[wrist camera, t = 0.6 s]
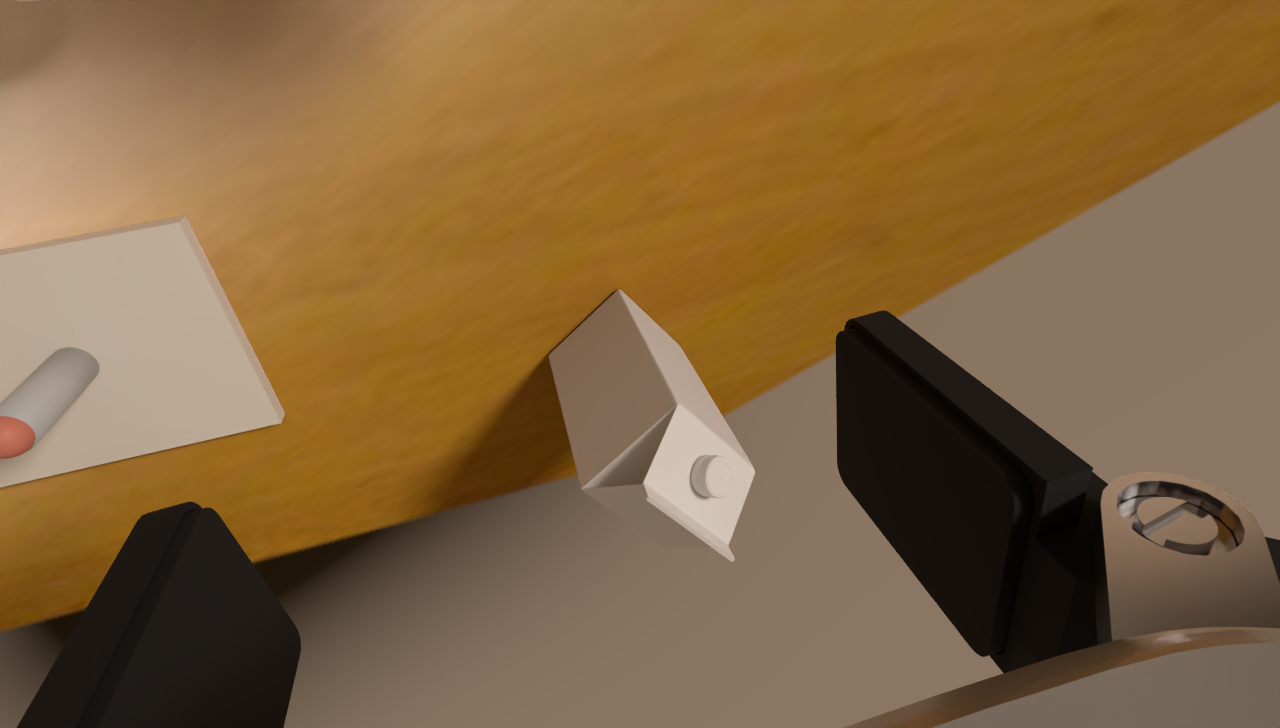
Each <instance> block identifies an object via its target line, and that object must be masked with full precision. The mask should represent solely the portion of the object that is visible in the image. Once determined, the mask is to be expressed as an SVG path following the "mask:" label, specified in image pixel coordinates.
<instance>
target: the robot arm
mask: <svg viewBox="0 0 1280 728" xmlns="http://www.w3.org/2000/svg"><path fill="white" fill-rule="evenodd" d="M836 398H837V464H838V470H839V473H840V476H841V479H842V480H843V483H844V484H845V486H846V487H847V488H848V490H849V491H850V492H851V494H852V495H853V496H854V497H855V499H856V500H857V501H858V502H859V504H860V505H861V506H862V508H863V509H864V510H865V511H866V513H867V514H868V515H869V517H870V518H871V519H872V521H874V523H875V525H876V526H877V527H878V528H879V530H880V531H881V532H882V534H883V535H884V536H885V537H886V539H887V540H888V541H889V542H890V544H891V545H892V546H893V548H894V549H895V550H896V552H897V553H898V554H899V555H900V557H901V558H902V559H903V561H904V562H905V563H906V564H907V566H908V567H909V568H910V570H911V571H912V572H913V573H914V575H915V576H916V577H917V579H918V580H919V581H920V582H921V584H922V585H923V586H924V588H925V589H926V590H927V592H928V593H929V594H930V595H931V597H932V598H933V599H934V601H935V602H936V603H937V604H938V606H939V607H940V608H941V610H942V611H943V612H944V614H945V615H946V616H947V617H948V619H949V620H950V621H951V622H952V624H953V625H954V626H955V627H956V629H957V630H958V632H959V633H960V634H961V635H962V637H963V638H964V639H965V641H966V642H967V643H968V644H969V646H970V647H971V648H972V649H973V650H974V651H975V652H976V653H977V654H979V655H980V656H983V657H985V656H988V655H990V657H991V658H992V659H993V660H994V662H995V663H996V664H997V666H998V667H999V668H1000V669H1001V670H1002V672H1003V673H1004V674H1001V675H998V676H995V677H992V678H989V679H985V680H983V681H979V682H976V683H973V684H971V685H967V686H964V687H961V688H958V689H955V690H952V691H949V692H946V693H943V694H939V695H937V696H934V697H931V698H928V699H925V700H922V701H919V702H916V703H913V704H911V705H907V706H905V707H902V708H899V709H896V710H893V711H890V712H887V713H884V714H882V715H879V716H876V717H873V718H870V719H867V720H864V721H861V722H858V723H856V724H853V725H850V726H847V727H844V728H1280V540H1277V539H1272V538H1267V537H1265V536H1264V533H1263V530H1262V529H1261V527H1260V525H1259V524H1258V522H1257V520H1256V518H1255V517H1254V515H1253V514H1252V513H1251V512H1250V511H1249V510H1248V509H1246V508H1245V507H1244V506H1243V505H1242V504H1241V503H1240V502H1239V501H1238V500H1236V499H1234V498H1233V497H1231V496H1229V495H1228V494H1226V493H1224V492H1223V491H1221V490H1219V489H1218V488H1215V487H1212V486H1210V485H1208V484H1205V483H1203V482H1200V481H1198V480H1195V479H1192V478H1187V477H1183V476H1179V475H1174V474H1170V473H1156V472H1142V473H1134V474H1127V475H1124V476H1122V477H1120V478H1117V479H1115V480H1113V481H1112V482H1110V484H1109V485H1108V484H1107V483H1106V482H1104V481H1103V480H1102V479H1100V478H1099V477H1098V476H1097V475H1095V474H1094V473H1093V472H1092V470H1093V467H1091V466H1090V465H1089V464H1087V463H1086V462H1085V461H1083V460H1082V459H1081V458H1080V457H1078V456H1077V455H1076V454H1074V453H1073V452H1072V451H1070V450H1069V449H1068V448H1066V447H1065V446H1064V445H1063V444H1061V443H1060V442H1058V441H1057V440H1056V439H1054V438H1053V437H1052V436H1051V435H1049V434H1048V433H1047V432H1045V431H1044V430H1043V429H1042V428H1040V427H1039V426H1037V425H1036V424H1035V423H1034V422H1032V421H1031V420H1030V419H1028V418H1027V417H1026V416H1024V415H1023V414H1022V413H1021V412H1019V411H1018V410H1016V409H1015V408H1014V407H1013V406H1011V405H1010V404H1009V403H1007V402H1006V401H1005V400H1003V399H1002V398H1001V397H1000V396H998V395H997V394H996V393H994V392H993V391H992V390H990V389H989V388H987V387H986V386H985V385H984V384H982V383H981V382H980V381H979V380H977V379H976V378H975V377H973V376H972V375H971V374H969V373H968V372H967V371H965V370H964V369H963V368H962V367H960V366H959V365H958V364H956V363H955V362H954V361H952V360H951V359H950V358H948V357H947V356H946V355H944V354H943V353H942V352H941V351H939V350H938V349H936V348H935V347H934V346H933V345H931V344H930V343H929V342H927V341H926V340H925V339H924V338H922V337H921V336H920V335H918V334H917V333H916V332H914V331H913V330H912V329H910V328H909V327H908V326H906V325H905V324H904V323H902V322H901V321H900V320H899V319H897V318H896V317H895V316H893V315H892V314H891V313H889V312H887V311H878V312H875V313H871V314H868V315H864V316H860V317H857V318H853V319H850V320H848V321H847V322H846V325H845V329H844V331H841V332H839V333H838V334H837V337H836ZM300 651H301V642H300V636H299V633H298V630H297V628H296V626H295V624H294V623H293V622H292V620H291V619H290V617H289V616H288V614H287V613H286V611H285V610H284V609H283V607H282V606H281V604H280V603H279V601H278V600H277V599H276V597H275V596H274V594H273V593H272V591H271V590H270V588H269V587H268V585H267V584H266V583H265V581H264V580H263V578H262V577H261V575H260V574H259V572H258V571H257V570H256V568H255V567H254V565H253V564H252V562H251V561H250V559H249V558H248V557H247V555H246V554H245V552H244V551H243V549H242V548H241V546H240V545H239V543H238V542H237V541H236V539H235V538H234V536H233V535H232V533H231V532H230V530H229V529H228V528H227V526H226V525H225V523H224V522H223V520H222V519H221V517H220V516H219V515H218V513H217V512H216V511H215V510H213V509H212V508H203V509H202V507H201V506H200V505H198V504H196V503H194V502H186V503H182V504H179V505H175V506H171V507H168V508H164V509H160V510H157V511H153V512H150V513H147V514H145V515H142V516H141V517H140V519H139V520H138V521H137V523H136V524H135V526H134V528H133V529H132V531H131V533H130V535H129V536H128V538H127V540H126V541H125V543H124V545H123V547H122V548H121V550H120V552H119V553H118V555H117V557H116V559H115V560H114V562H113V564H112V565H111V567H110V569H109V571H108V572H107V574H106V576H105V577H104V579H103V581H102V583H101V584H100V586H99V588H98V589H97V591H96V593H95V595H94V596H93V598H92V600H91V601H90V603H89V605H88V607H87V608H86V610H85V612H84V614H83V615H82V617H81V619H80V620H79V622H78V624H77V626H76V627H75V629H74V631H73V632H72V634H71V636H70V637H69V639H68V641H67V643H66V644H65V646H64V648H63V650H62V651H61V653H60V654H59V656H58V658H57V660H56V661H55V663H54V665H53V666H52V668H51V670H50V672H49V674H48V675H47V677H46V678H45V680H44V682H43V684H42V685H41V687H40V689H39V690H38V692H37V694H36V696H35V697H34V699H33V701H32V702H31V704H30V706H29V708H28V709H27V711H26V713H25V715H24V716H23V718H22V720H21V721H20V723H19V725H18V726H17V728H283V727H284V722H285V719H286V714H287V710H288V705H289V701H290V696H291V692H292V688H293V683H294V679H295V675H296V670H297V665H298V661H299V657H300Z"/></svg>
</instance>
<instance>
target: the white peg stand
mask: <svg viewBox="0 0 1280 728" xmlns="http://www.w3.org/2000/svg"><path fill="white" fill-rule="evenodd" d="M284 414H285V412H284V410H283V408H282V406H281V404H280V402H279V400H278V398H277V396H276V394H275V392H274V390H273V388H272V386H271V384H270V382H269V380H268V378H267V376H266V374H265V372H264V370H263V368H262V366H261V364H260V362H259V360H258V358H257V356H256V354H255V352H254V350H253V348H252V346H251V344H250V342H249V340H248V338H247V336H246V334H245V332H244V330H243V328H242V326H241V324H240V322H239V320H238V318H237V316H236V314H235V312H234V310H233V308H232V306H231V304H230V302H229V300H228V299H227V297H226V295H225V293H224V291H223V289H222V287H221V285H220V283H219V281H218V279H217V277H216V275H215V273H214V271H213V269H212V267H211V265H210V263H209V261H208V259H207V257H206V255H205V253H204V251H203V249H202V247H201V245H200V243H199V241H198V239H197V237H196V235H195V233H194V231H193V229H192V227H191V225H190V223H189V221H188V219H187V217H186V216H181V217H176V218H171V219H165V220H160V221H154V222H149V223H144V224H138V225H133V226H127V227H122V228H117V229H111V230H106V231H100V232H95V233H90V234H84V235H79V236H73V237H68V238H62V239H57V240H52V241H46V242H41V243H35V244H30V245H25V246H19V247H14V248H8V249H3V250H0V487H4V486H9V485H13V484H18V483H22V482H26V481H31V480H35V479H39V478H44V477H48V476H52V475H57V474H61V473H65V472H70V471H74V470H79V469H83V468H87V467H92V466H96V465H100V464H105V463H109V462H113V461H118V460H122V459H127V458H131V457H135V456H140V455H144V454H148V453H153V452H157V451H161V450H166V449H170V448H174V447H179V446H183V445H188V444H192V443H196V442H201V441H205V440H209V439H214V438H218V437H222V436H227V435H231V434H235V433H240V432H244V431H249V430H253V429H257V428H262V427H266V426H270V425H275V424H279V423H281V422H282V420H283V417H284Z"/></svg>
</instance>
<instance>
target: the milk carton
mask: <svg viewBox="0 0 1280 728" xmlns="http://www.w3.org/2000/svg"><path fill="white" fill-rule="evenodd" d="M548 357H549V361H550V365H551V369H552V373H553V377H554V381H555V385H556V389H557V393H558V397H559V401H560V405H561V409H562V414H563V418H564V422H565V426H566V430H567V434H568V438H569V442H570V446H571V450H572V454H573V458H574V462H575V466H576V470H577V474H578V478H579V482H580V486H581V490H582V491H584V492H585V493H586V494H588V495H589V496H591V497H592V498H594V499H595V500H596V501H598V502H599V503H601V504H602V505H604V506H605V507H607V508H608V509H610V510H611V511H613V512H614V513H616V514H617V515H618V516H620V517H621V518H623V519H624V520H626V521H627V522H629V523H630V524H632V525H633V526H635V527H636V528H638V529H639V530H641V531H642V532H644V533H645V534H646V535H648V536H649V537H651V538H653V539H654V540H655V541H657V542H658V543H660V544H662V545H663V546H666V547H712V548H713V549H715V550H716V551H718V552H719V553H720V554H722V555H723V556H724V557H726V558H728V559H729V560H730V561H731V562H732V561H734V560H735V559H734V557H733V555H732V553H731V551H730V549H729V547H728V545H729V542H730V539H731V537H732V534H733V531H734V528H735V526H736V523H737V520H738V518H739V515H740V512H741V510H742V507H743V504H744V501H745V499H746V496H747V493H748V491H749V488H750V485H751V482H752V479H753V477H754V474H755V471H754V468H753V466H752V464H751V463H750V461H749V459H748V457H747V456H746V454H745V453H744V451H743V449H742V448H741V446H740V444H739V443H738V441H737V439H736V438H735V436H734V434H733V433H732V431H731V430H730V428H729V426H728V424H727V423H726V421H725V420H724V418H723V416H722V415H721V413H720V411H719V410H718V408H717V406H716V405H715V403H714V401H713V400H712V398H711V396H710V395H709V393H708V391H707V390H706V388H705V387H704V385H703V383H702V382H701V380H700V378H699V377H698V375H697V373H696V372H695V370H694V368H693V367H692V365H691V363H690V362H689V360H688V358H687V357H686V355H685V354H684V352H683V350H682V349H681V347H680V346H679V345H678V343H677V342H675V341H674V340H673V339H672V338H671V337H670V336H669V335H668V334H667V333H666V332H665V331H664V330H663V329H662V328H661V327H660V326H659V325H658V324H657V323H655V322H654V321H653V320H652V319H651V318H650V317H649V316H648V315H647V314H646V313H645V312H644V311H643V310H642V309H641V308H640V307H639V306H638V305H636V304H635V303H634V302H633V301H632V300H631V299H630V298H629V297H628V296H627V295H626V294H625V293H624V292H623V291H621V290H620V289H618V290H617V291H616V292H615V293H614V294H613V295H612V296H610V297H609V298H608V299H607V300H606V301H605V302H604V303H603V304H602V305H601V306H600V307H599V308H598V309H597V310H596V311H595V312H594V313H592V314H591V315H590V316H589V317H588V318H587V319H586V320H585V321H584V322H583V323H582V324H581V325H580V326H579V327H578V328H577V329H575V330H574V331H573V332H572V333H571V334H570V335H569V336H568V337H567V338H566V339H565V340H564V341H563V342H562V343H561V344H560V345H559V346H557V347H556V348H555V349H554V350H553V351H552V352H551V353H550V354H549V355H548Z"/></svg>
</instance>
